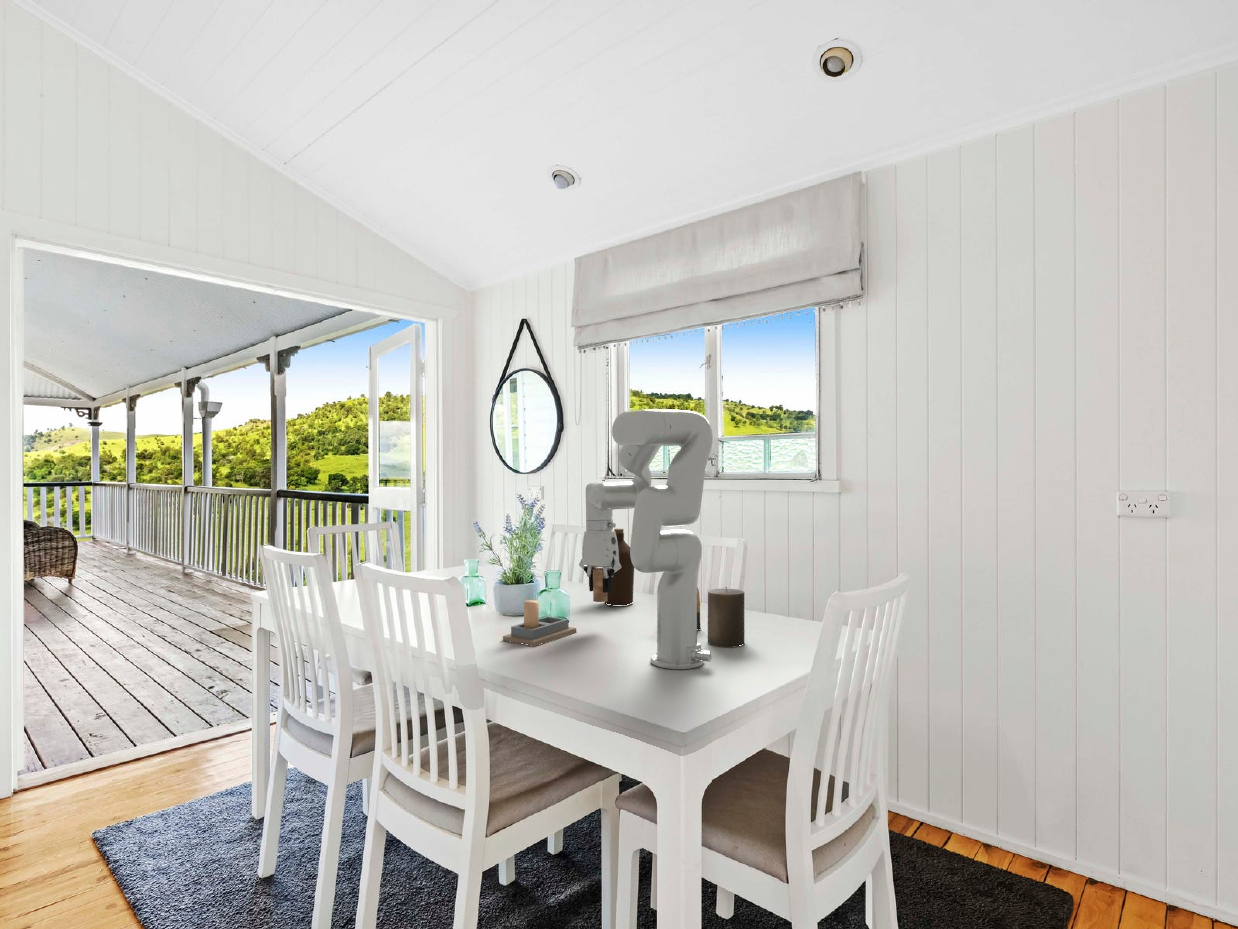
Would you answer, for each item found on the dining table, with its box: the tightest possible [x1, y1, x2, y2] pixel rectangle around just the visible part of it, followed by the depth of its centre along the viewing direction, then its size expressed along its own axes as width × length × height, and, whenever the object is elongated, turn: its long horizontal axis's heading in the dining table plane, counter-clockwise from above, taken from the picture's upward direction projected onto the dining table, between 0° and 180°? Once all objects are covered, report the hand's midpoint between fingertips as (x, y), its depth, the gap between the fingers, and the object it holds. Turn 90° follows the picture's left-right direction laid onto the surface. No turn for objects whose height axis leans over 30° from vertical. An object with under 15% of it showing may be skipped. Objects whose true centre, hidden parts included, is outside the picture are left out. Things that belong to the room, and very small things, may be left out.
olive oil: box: [606, 528, 635, 605], centre depth 238 cm, size 11×11×25 cm
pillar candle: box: [707, 586, 746, 648], centre depth 188 cm, size 10×10×15 cm
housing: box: [502, 599, 577, 647], centre depth 195 cm, size 11×18×10 cm, turn 146°
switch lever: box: [592, 567, 607, 603], centre depth 202 cm, size 4×4×9 cm
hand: (600, 590), depth 202 cm, fingers closed on switch lever, 4 cm apart
